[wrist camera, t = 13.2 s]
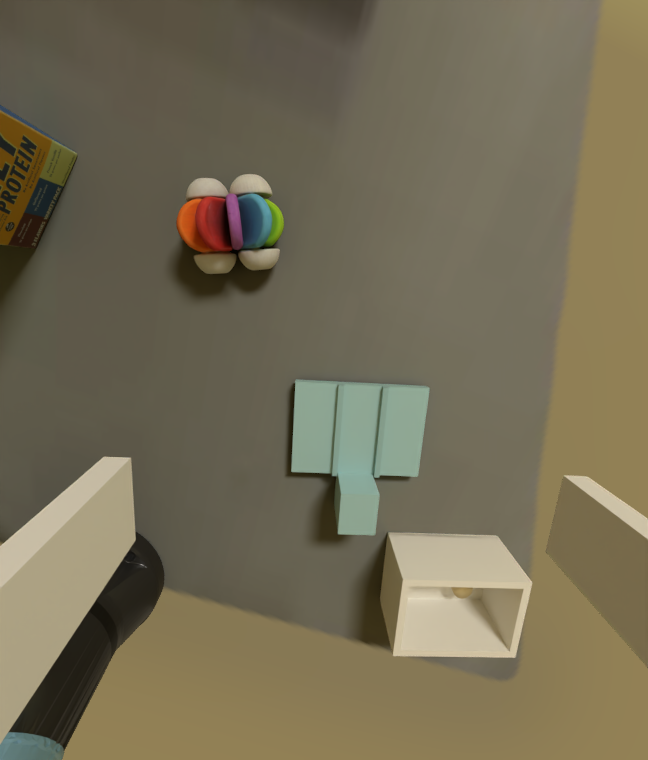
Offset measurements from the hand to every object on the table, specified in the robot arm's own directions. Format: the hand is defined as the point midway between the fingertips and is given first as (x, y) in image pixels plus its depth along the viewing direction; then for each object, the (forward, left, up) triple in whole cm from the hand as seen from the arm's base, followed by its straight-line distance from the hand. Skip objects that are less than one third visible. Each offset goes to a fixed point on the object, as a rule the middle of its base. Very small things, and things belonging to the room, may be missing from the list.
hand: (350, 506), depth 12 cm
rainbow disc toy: (-9, +11, -32) cm, 35 cm away
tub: (+17, -28, -32) cm, 46 cm away
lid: (+5, -12, -32) cm, 34 cm away
